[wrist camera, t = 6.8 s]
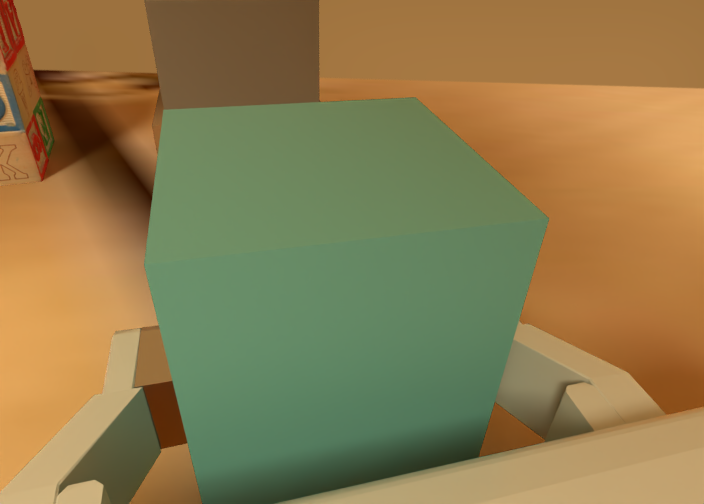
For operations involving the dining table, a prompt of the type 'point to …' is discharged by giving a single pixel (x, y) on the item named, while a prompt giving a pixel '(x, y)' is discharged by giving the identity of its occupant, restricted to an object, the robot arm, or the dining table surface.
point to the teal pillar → (332, 292)
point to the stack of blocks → (20, 108)
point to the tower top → (235, 51)
